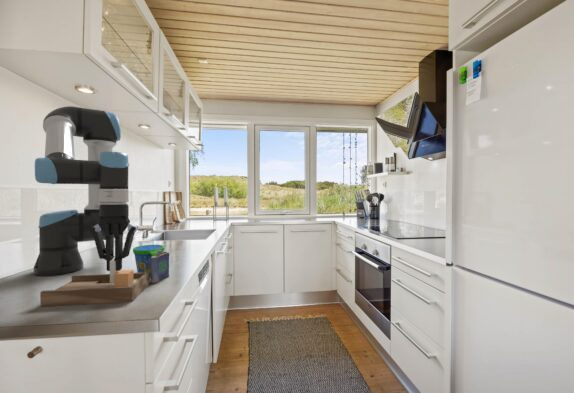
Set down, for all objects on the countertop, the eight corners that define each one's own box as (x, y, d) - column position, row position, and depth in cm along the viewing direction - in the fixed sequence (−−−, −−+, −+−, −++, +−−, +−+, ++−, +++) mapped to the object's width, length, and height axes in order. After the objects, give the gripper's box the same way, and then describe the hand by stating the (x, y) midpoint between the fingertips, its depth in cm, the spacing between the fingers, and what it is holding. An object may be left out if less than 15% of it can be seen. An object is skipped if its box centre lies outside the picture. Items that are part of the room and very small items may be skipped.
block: (119, 283, 87) (119, 270, 87) (133, 282, 88) (133, 269, 88) (113, 287, 83) (113, 274, 83) (128, 286, 84) (128, 273, 84)
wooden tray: (73, 287, 90) (73, 275, 90) (149, 284, 94) (149, 272, 94) (40, 306, 75) (40, 291, 75) (132, 301, 79) (132, 287, 79)
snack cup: (168, 276, 102) (168, 248, 102) (136, 282, 96) (136, 252, 96) (160, 267, 115) (159, 242, 115) (130, 271, 109) (130, 245, 109)
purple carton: (155, 284, 94) (155, 252, 94) (147, 283, 94) (147, 252, 94) (170, 276, 103) (170, 247, 103) (163, 275, 103) (163, 246, 103)
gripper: (83, 204, 80) (83, 286, 80) (132, 204, 82) (132, 284, 82) (97, 203, 87) (97, 278, 88) (141, 203, 89) (141, 276, 90)
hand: (114, 281), depth 85 cm, fingers closed
